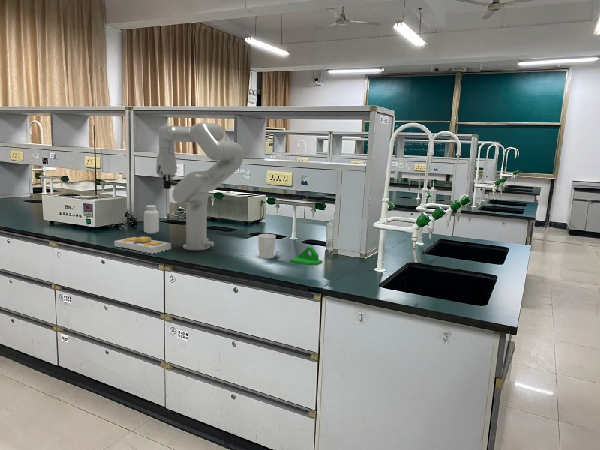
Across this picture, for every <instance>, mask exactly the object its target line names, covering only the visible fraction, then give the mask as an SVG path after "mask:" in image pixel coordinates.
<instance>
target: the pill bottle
mask: <svg viewBox="0 0 600 450" xmlns="http://www.w3.org/2000/svg"><path fill="white" fill-rule="evenodd" d="M159 216H160V213H159V211H158V210H157V205H154V204H149V205H147V204H146V205H145V210H144V212H143V232H144V233H145V232H146V233H145V234H157V232H158V233H159V231H160V230H159V229H160V222H159V221H160V220H159V219H160V217H159Z"/></svg>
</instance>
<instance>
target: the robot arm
mask: <svg viewBox="0 0 600 450" xmlns="http://www.w3.org/2000/svg"><path fill="white" fill-rule="evenodd" d="M224 137H225V130H224V128H223V126H221V125H220V124H217V123H212V122H211V123H210V122H198V123H195V124H192V125H191V126H184V125H183V126H182V125H167V126H166V125H163V126H162V125H161V126H159V127H158V154H157V158H156V165H155V166H156V168H155V169H156V170H155V171H156V174H157V175H158V178H161V179H162V181H163V189H164V190H165V189H167V190H170V189H171V187H172V184H171V183H172V179H173V178H175V177H176V175H177V169H178V168H177V158H176V154H175V152H176V150H175V149H176V147H175V143H176V142H177V143H196V144H197V145H198V146H199V147H200V150H202V152H203V153H204V155H205V156H206V157H207V158H208V159H210V160H212V161H217V162H216V163H214V164H213V165H212V166H211V167H210V168H208V169H207V170H203V171H202V170H200V171H196V170H195V171H192V172H191V171H190V172H189V173H188V174H186V175H185V176H184V177H183V178H182V179H181V180H179V182H178V183H176V184H175V186H174V187H173V190H172V193H171V195H172V199H173V201H174V202H175V203H176V204H180V205H188V206H187V208H186V211H185V212H186V213H185V221H186V222H185V223H186V224H185V226H186V227H185V231H186V237H185V238H186V241H185V244H183V245H182V248H183V249H184V250H186V251H188V250H189V251H205V250H209V249H210V248H211V247H214V245H215V242H214V241H211V240H209V238H208V237H207V231H208V230H207V226H208V225H207V221H208V220H207V219H208V218H207V216H208V214H207V213H208V211H207V210H208V209H207V208H208V201H209V195H210V192H213V191H214V190H216V189H217V188H218V187H219V186H220V185H221V184H222V183H224V182H225V181H226V180H228V178H230V177H231V176H232V175H234V173H236V172H237V171H238V170H239V169H240V167H241V166H242V165H243V160H244V149H243V146H241V144H240V143H238V142H235V141H229V140H227V141H226V140H223V139H224Z"/></svg>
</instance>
